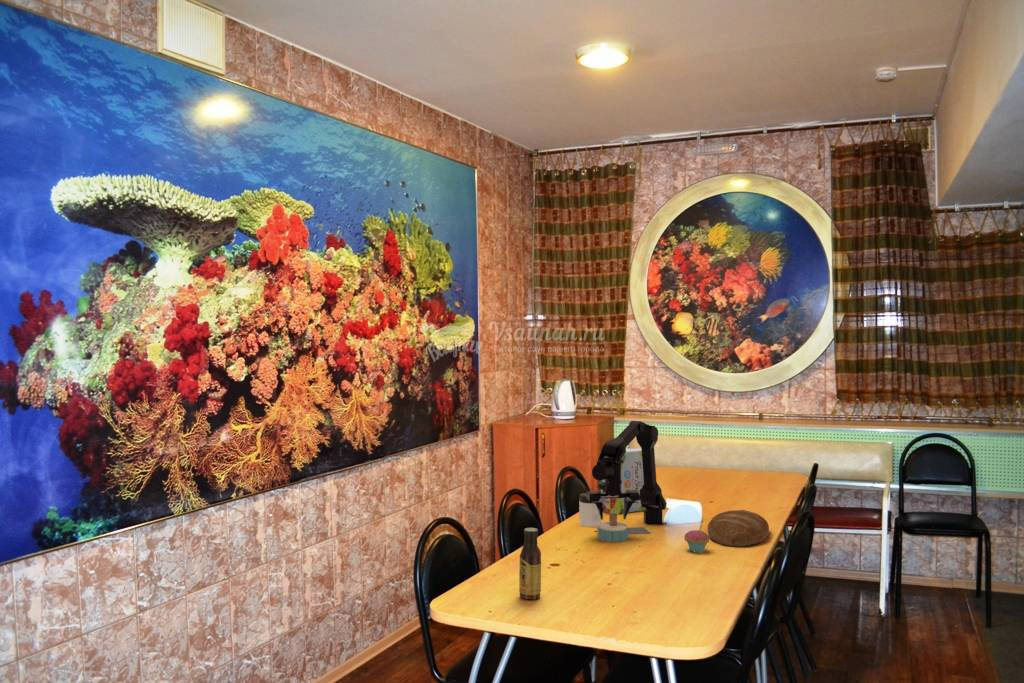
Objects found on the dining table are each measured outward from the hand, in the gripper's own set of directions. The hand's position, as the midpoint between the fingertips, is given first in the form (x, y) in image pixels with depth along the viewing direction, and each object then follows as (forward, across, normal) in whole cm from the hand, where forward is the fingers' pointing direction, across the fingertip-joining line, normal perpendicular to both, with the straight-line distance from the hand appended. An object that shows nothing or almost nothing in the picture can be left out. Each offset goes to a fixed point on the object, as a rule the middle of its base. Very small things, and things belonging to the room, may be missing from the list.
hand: (613, 519), depth 312 cm
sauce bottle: (+7, +40, +62) cm, 74 cm away
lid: (+3, 0, 0) cm, 3 cm away
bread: (+8, -48, -1) cm, 49 cm away
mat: (+7, -11, -10) cm, 17 cm away
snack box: (+8, -17, -46) cm, 49 cm away
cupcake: (+8, -25, +19) cm, 32 cm away
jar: (+8, +4, -22) cm, 24 cm away
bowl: (+7, 0, 0) cm, 7 cm away
